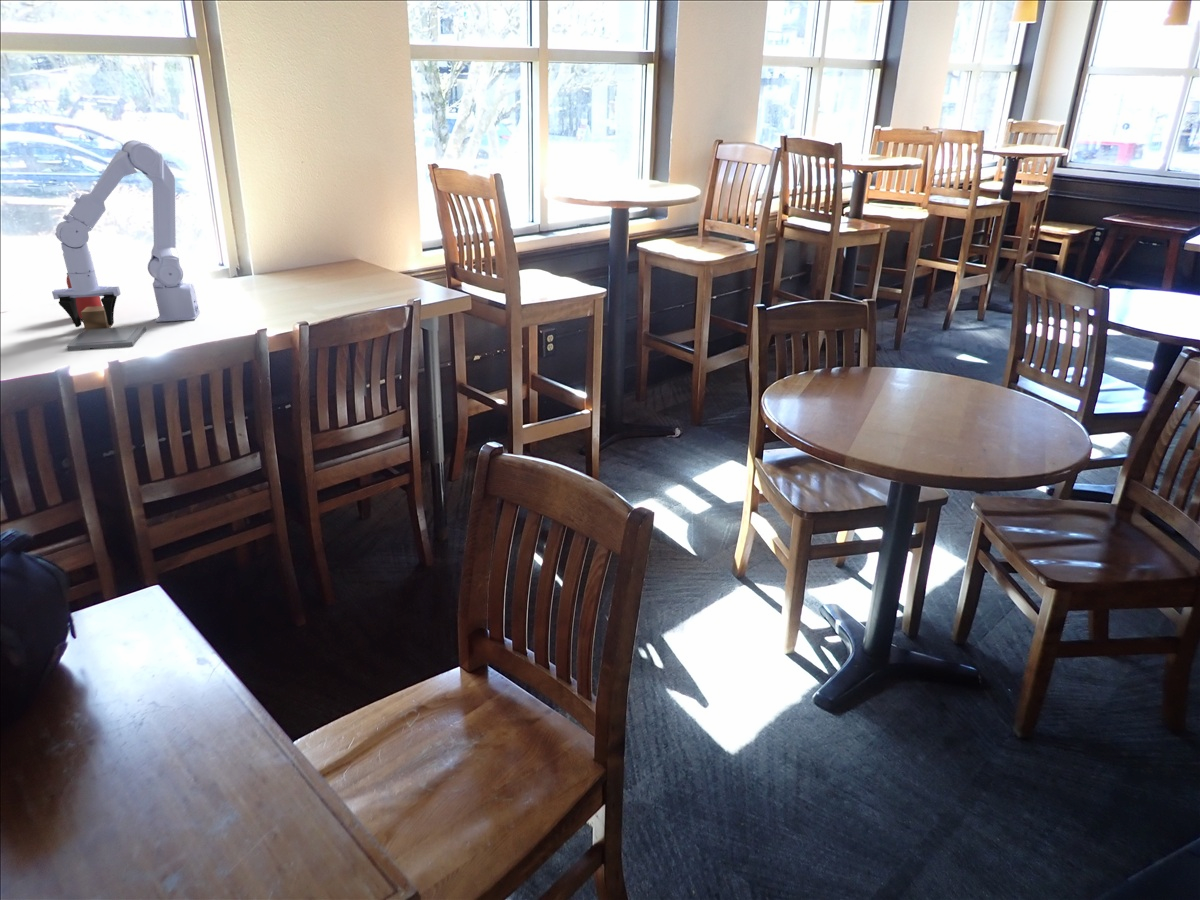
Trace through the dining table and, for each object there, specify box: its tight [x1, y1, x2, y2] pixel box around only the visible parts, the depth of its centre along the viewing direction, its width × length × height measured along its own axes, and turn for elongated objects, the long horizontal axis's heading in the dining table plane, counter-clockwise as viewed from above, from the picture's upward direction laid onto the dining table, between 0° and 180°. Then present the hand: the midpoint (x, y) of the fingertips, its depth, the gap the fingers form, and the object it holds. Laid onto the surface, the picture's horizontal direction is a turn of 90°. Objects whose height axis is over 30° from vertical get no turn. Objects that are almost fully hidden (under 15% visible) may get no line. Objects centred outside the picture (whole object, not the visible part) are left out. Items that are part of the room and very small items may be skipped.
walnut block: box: [81, 305, 114, 329], centre depth 213 cm, size 5×5×5 cm
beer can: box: [66, 272, 103, 320], centre depth 220 cm, size 7×7×12 cm
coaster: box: [66, 325, 147, 351], centre depth 204 cm, size 14×14×1 cm
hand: (94, 325), depth 211 cm, fingers open, 7 cm apart
